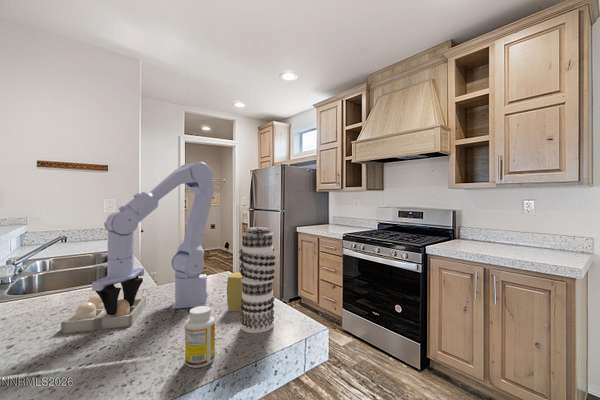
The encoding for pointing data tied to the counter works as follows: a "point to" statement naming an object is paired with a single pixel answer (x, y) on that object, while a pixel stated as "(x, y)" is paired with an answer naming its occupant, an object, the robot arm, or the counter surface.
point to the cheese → (234, 292)
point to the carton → (103, 319)
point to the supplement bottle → (199, 337)
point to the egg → (122, 308)
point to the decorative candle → (257, 280)
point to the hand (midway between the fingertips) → (120, 310)
